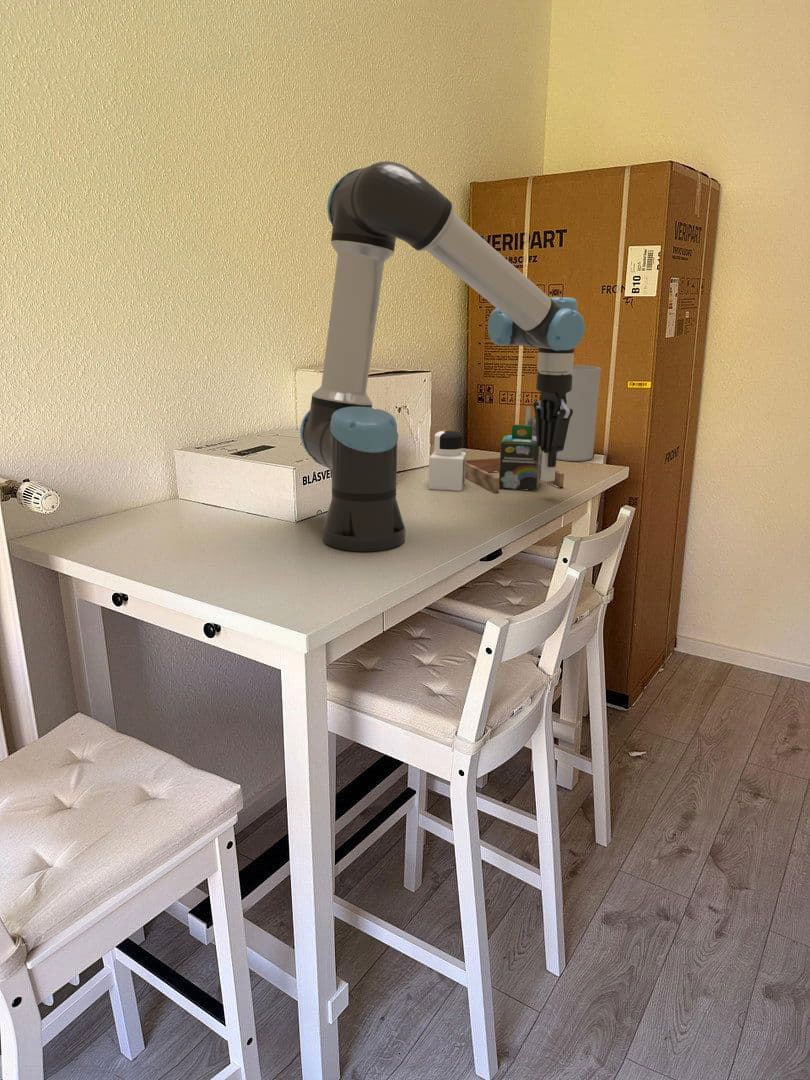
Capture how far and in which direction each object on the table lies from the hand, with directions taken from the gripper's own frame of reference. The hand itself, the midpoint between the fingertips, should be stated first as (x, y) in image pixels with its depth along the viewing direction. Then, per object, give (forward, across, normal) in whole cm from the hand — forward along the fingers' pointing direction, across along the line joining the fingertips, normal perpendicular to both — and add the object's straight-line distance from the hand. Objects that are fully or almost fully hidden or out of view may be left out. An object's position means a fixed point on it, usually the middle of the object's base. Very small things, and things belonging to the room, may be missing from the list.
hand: (547, 480), depth 173 cm
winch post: (+4, +30, -14) cm, 34 cm away
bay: (+4, +18, 0) cm, 18 cm away
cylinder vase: (+5, +39, -30) cm, 50 cm away
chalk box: (+4, +12, 0) cm, 13 cm away
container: (+4, +16, +17) cm, 24 cm away
